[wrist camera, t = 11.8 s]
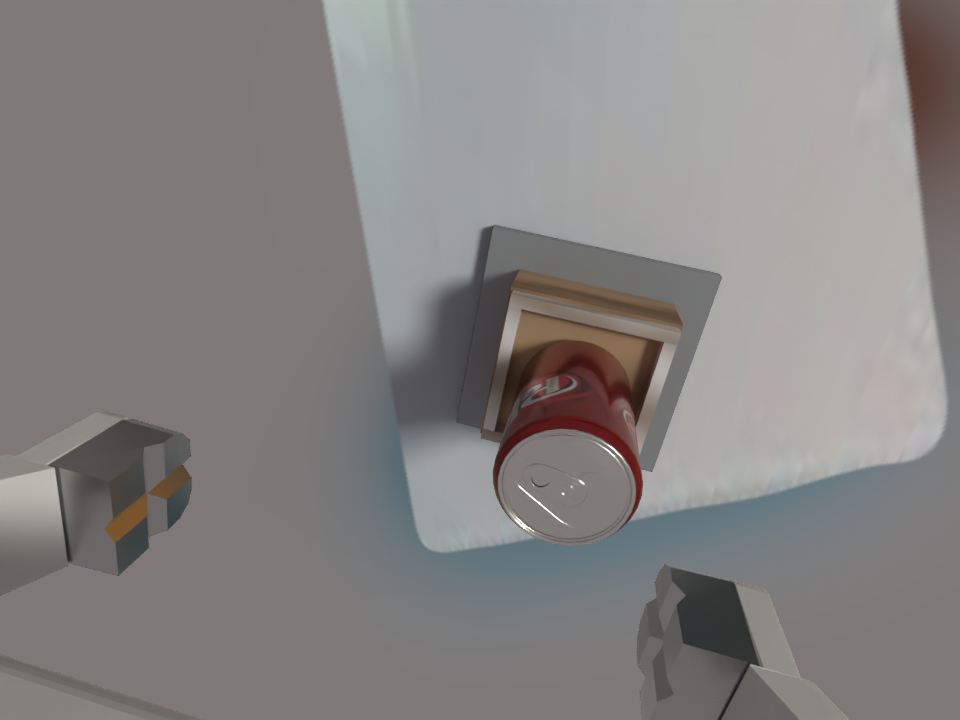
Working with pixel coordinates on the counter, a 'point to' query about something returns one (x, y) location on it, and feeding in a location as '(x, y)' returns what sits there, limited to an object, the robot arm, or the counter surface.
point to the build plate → (599, 269)
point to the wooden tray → (582, 317)
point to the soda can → (570, 447)
